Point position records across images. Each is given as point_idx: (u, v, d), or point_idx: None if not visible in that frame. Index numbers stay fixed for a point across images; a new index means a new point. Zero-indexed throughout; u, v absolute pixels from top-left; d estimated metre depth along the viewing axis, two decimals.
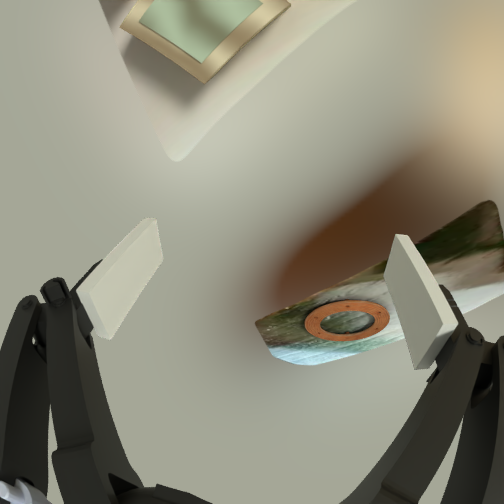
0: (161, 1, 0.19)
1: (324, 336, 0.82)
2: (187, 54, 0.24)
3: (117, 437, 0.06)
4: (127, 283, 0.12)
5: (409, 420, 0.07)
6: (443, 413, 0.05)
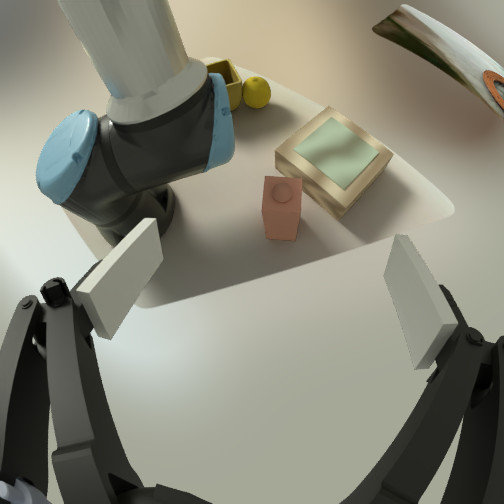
0: (328, 171, 0.39)
1: None
2: (373, 160, 0.39)
3: (117, 437, 0.06)
4: (127, 283, 0.12)
5: (409, 420, 0.07)
6: (443, 413, 0.05)
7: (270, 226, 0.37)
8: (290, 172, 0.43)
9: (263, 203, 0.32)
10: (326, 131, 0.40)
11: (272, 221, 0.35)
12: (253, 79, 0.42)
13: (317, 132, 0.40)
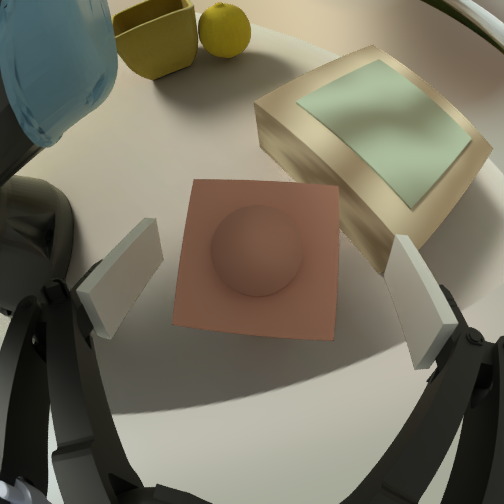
0: (376, 159, 0.15)
1: None
2: (463, 152, 0.14)
3: (117, 437, 0.06)
4: (127, 283, 0.12)
5: (409, 420, 0.07)
6: (443, 413, 0.05)
7: None
8: (286, 154, 0.19)
9: (179, 296, 0.08)
10: (370, 79, 0.16)
11: None
12: (216, 4, 0.18)
13: (352, 78, 0.16)
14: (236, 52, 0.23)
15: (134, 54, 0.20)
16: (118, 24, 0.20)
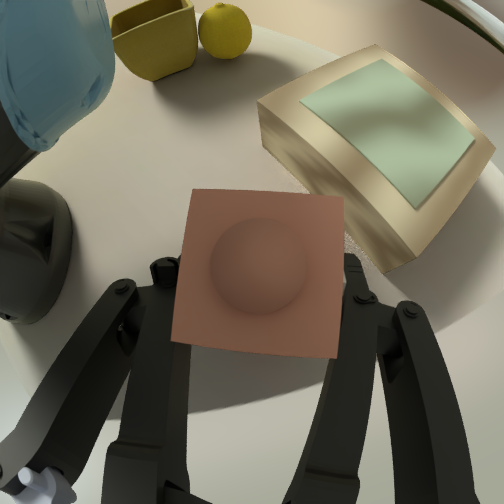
0: (380, 159, 0.15)
1: None
2: (467, 152, 0.14)
3: (185, 437, 0.07)
4: None
5: (321, 394, 0.08)
6: (349, 381, 0.06)
7: None
8: (290, 154, 0.19)
9: (178, 312, 0.07)
10: (373, 78, 0.16)
11: None
12: (217, 5, 0.18)
13: (355, 77, 0.16)
14: (237, 53, 0.23)
15: (133, 55, 0.20)
16: (117, 25, 0.20)
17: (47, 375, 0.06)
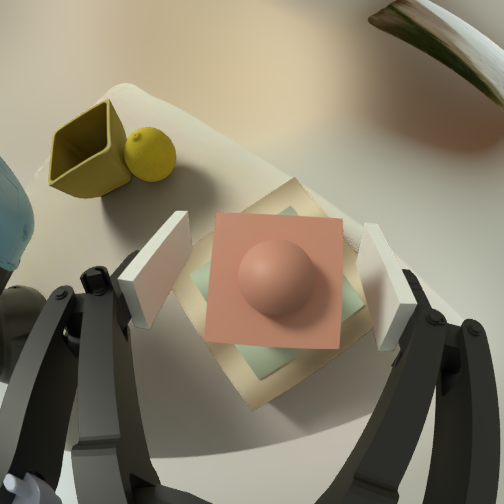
0: None
1: None
2: (345, 323, 0.20)
3: (142, 434, 0.07)
4: (164, 274, 0.13)
5: (377, 407, 0.07)
6: (410, 397, 0.06)
7: None
8: None
9: (209, 317, 0.09)
10: None
11: None
12: (133, 137, 0.24)
13: None
14: (162, 178, 0.29)
15: (74, 189, 0.26)
16: (61, 141, 0.26)
17: (10, 383, 0.05)
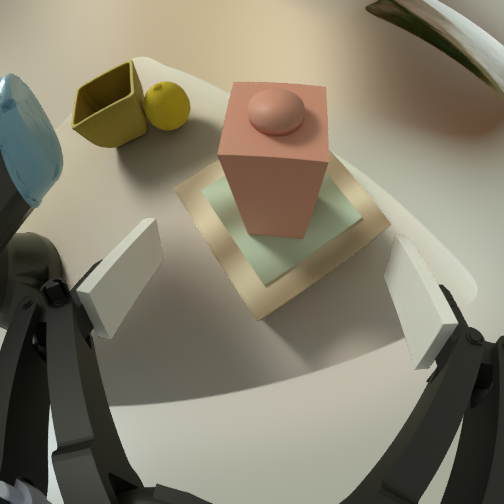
0: (248, 244, 0.22)
1: None
2: (345, 233, 0.22)
3: (117, 437, 0.06)
4: (127, 283, 0.12)
5: (409, 420, 0.07)
6: (443, 413, 0.05)
7: (250, 206, 0.16)
8: None
9: (223, 138, 0.11)
10: None
11: (252, 192, 0.14)
12: (154, 87, 0.25)
13: None
14: (177, 127, 0.30)
15: (94, 135, 0.27)
16: (83, 96, 0.27)
17: None
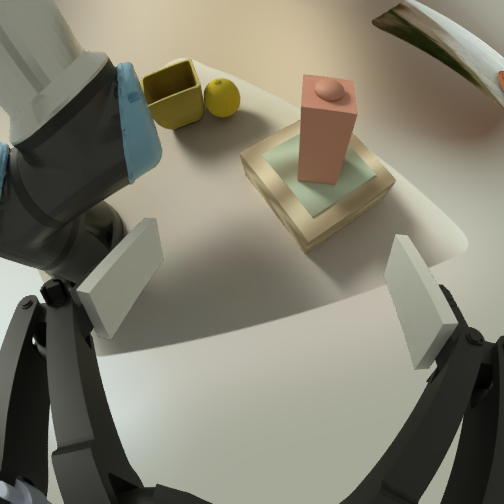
0: (299, 190, 0.31)
1: None
2: (365, 184, 0.30)
3: (117, 437, 0.06)
4: (127, 283, 0.12)
5: (409, 420, 0.07)
6: (443, 413, 0.05)
7: (307, 149, 0.24)
8: (256, 183, 0.35)
9: (303, 100, 0.19)
10: None
11: (312, 136, 0.22)
12: (215, 82, 0.34)
13: (299, 137, 0.32)
14: (230, 114, 0.39)
15: (161, 116, 0.36)
16: (146, 85, 0.36)
17: None
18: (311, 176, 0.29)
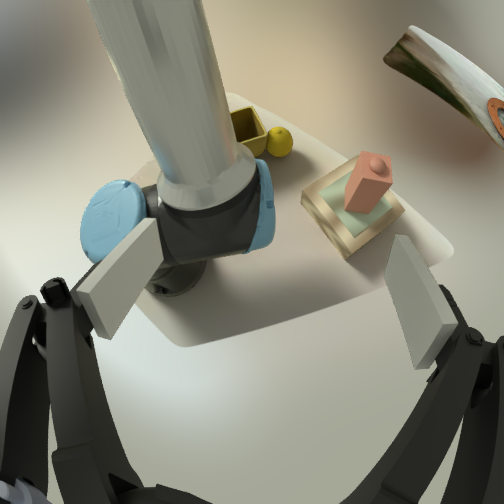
0: (344, 218, 0.45)
1: None
2: (385, 214, 0.45)
3: (117, 437, 0.06)
4: (127, 283, 0.12)
5: (409, 420, 0.07)
6: (443, 413, 0.05)
7: (357, 196, 0.39)
8: (312, 211, 0.49)
9: (363, 172, 0.34)
10: None
11: (363, 190, 0.37)
12: (277, 131, 0.48)
13: (342, 179, 0.47)
14: None
15: None
16: None
17: None
18: (354, 209, 0.44)
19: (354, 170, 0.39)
